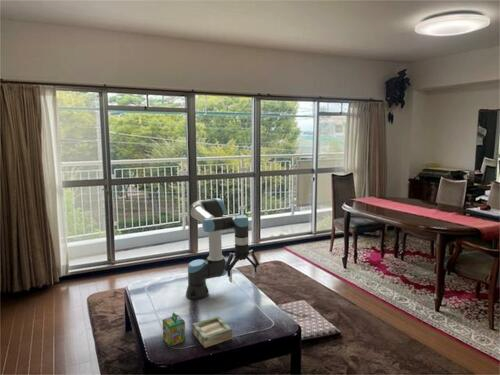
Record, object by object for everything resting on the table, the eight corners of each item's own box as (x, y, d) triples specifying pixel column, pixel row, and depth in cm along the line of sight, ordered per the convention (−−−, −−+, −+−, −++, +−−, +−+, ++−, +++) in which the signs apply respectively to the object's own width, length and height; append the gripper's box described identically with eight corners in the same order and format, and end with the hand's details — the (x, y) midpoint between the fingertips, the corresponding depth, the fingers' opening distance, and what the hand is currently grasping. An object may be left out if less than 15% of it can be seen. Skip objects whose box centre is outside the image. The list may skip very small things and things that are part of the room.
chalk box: (162, 339, 194) (161, 313, 191) (178, 333, 200) (177, 308, 197) (170, 347, 187) (168, 321, 184) (186, 340, 192) (185, 315, 190)
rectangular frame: (192, 332, 200) (192, 323, 199) (218, 324, 208) (218, 315, 207) (204, 348, 186) (204, 338, 185) (232, 338, 194) (231, 329, 193)
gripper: (222, 248, 191) (222, 286, 195) (265, 242, 200) (265, 278, 204) (218, 244, 198) (218, 280, 202) (259, 238, 207) (259, 273, 211)
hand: (242, 279), depth 203 cm, fingers open, 13 cm apart
